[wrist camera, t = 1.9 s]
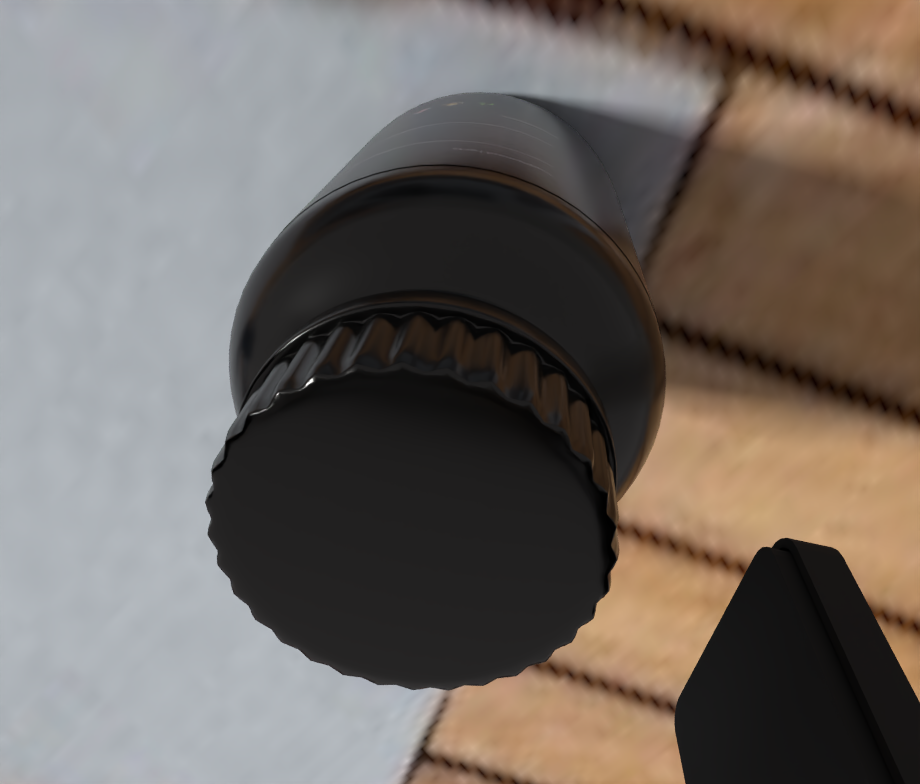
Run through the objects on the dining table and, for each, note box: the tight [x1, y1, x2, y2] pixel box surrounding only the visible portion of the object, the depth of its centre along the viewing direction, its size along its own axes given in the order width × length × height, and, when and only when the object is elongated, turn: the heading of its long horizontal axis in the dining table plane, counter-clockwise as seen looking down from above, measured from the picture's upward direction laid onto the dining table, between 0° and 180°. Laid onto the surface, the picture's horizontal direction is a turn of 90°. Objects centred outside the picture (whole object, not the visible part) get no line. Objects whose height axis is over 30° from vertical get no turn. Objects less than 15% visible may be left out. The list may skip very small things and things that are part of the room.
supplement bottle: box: [205, 92, 666, 690], centre depth 14 cm, size 7×7×12 cm
